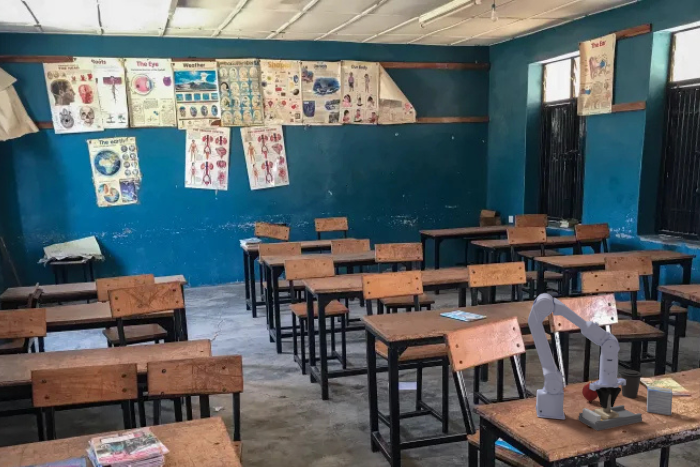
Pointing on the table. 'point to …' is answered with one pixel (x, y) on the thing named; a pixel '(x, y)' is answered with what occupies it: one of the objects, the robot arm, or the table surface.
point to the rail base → (600, 424)
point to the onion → (589, 392)
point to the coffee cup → (630, 383)
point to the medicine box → (659, 400)
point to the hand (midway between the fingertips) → (606, 406)
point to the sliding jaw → (607, 411)
